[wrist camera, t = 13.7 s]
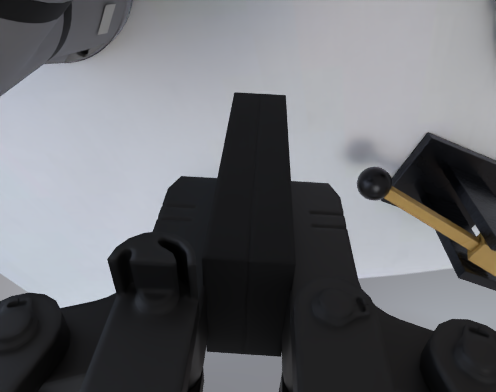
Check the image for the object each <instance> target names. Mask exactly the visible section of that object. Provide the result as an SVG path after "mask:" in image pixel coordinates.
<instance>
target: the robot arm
mask: <svg viewBox="0 0 496 392" xmlns="http://www.w3.org/2000/svg"><path fill="white" fill-rule="evenodd" d="M131 5H132V0H0V96H1V95H3V94H4V93H5V92H7V91H8V90H9V89H11V88H12V87H13V86H15V85H16V84H17V83H19V82H20V81H22V80H23V79H24V78H26V77H27V76H28V75H30V74H31V73H32V72H34V71H35V70H36V69H38V68H39V67H40V66H42V65H43V64H53V63H72V62H77V61H81V60H85V59H87V58H90V57H92V56H93V55H95V54H97V53H98V52H100V51H101V50H103V49H104V48H105V47H106V46H107V45H108V44H109V43H110V42H111V41H112V40H114V39H115V38H116V36H117V35H118V34H119V33H120V31H121V30H122V28H123V26H124V25H125V23H126V20H127V18H128V15H129V13H130V9H131ZM107 260H108V264H109V267H110V271H111V275H112V278H113V282H114V286H115V289H116V293H115V294H113V295H111V296H109V297H107V298H103V299H100V300H97V301H93V302H88V303H83V304H79V305H74V306H69V307H64V308H59V306H58V304H57V302H56V301H55V300H54V299H52V298H50V297H48V296H47V295H45V294H37V293H25V294H21V295H15V296H11V297H9V298H7V299H4V300H2V301H0V392H203V384H204V373H203V364H204V358H205V351H206V346H207V351H208V352H221V353H237V354H251V355H266V356H281V353H282V377H281V383H280V388H279V392H496V331H494V330H493V329H491V328H489V327H488V326H486V325H483V324H480V323H477V322H474V321H471V320H466V319H451V320H448V321H446V322H443V323H441V324H439V325H438V326H437V328H436V330H435V331H432V330H429V329H426V328H423V327H420V326H417V325H414V324H412V323H408V322H405V321H403V320H400V319H398V318H395V317H393V316H391V315H389V314H387V313H385V312H384V311H382V310H381V309H379V308H378V307H376V306H375V305H374V304H373V302H372V300H371V298H370V297H369V296H368V295H367V294H366V293H365V292H364V291H363V290H362V289H361V286H360V283H359V281H358V277H357V272H356V268H355V263H354V259H353V254H352V249H351V245H350V240H349V236H348V231H347V229H346V222H345V218H344V216H343V208H342V204H341V199H340V197H339V195H338V194H337V193H336V192H335V191H334V189H333V188H332V187H331V186H330V185H329V184H328V183H313V182H296V181H291V176H290V159H289V142H288V126H287V109H286V95H271V94H253V93H234V97H233V102H232V107H231V112H230V117H229V123H228V128H227V133H226V138H225V143H224V148H223V153H222V158H221V163H220V168H219V173H218V178H203V177H186V176H181V177H180V178H179V179H178V180H177V181H176V182H175V183H174V184H172V185H171V186H170V187H169V188H168V190H167V193H166V196H165V199H164V202H163V207H161V210H160V213H159V216H158V219H157V221H156V224H155V227H154V229H153V232H149V233H143V234H140V235H137V236H134V237H131V238H129V239H128V240H126V241H125V242H123V243H122V244H120V245H119V246H117V247H116V248H115V250H114V251H113V252H112V254H111V255H110V256H109V258H108V259H107Z"/></svg>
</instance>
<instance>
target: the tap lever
mask: <svg viewBox="0 0 496 392" xmlns="http://www.w3.org/2000/svg"><path fill="white" fill-rule="evenodd" d="M357 188H358V191H359V192H360V194H361V195H362V196H363V197H365V198H366V199H369V200H380V199H382V198H385V199H386V200H388V201H389V202H391V203H393V204H394V205H396V206H398V207H399V208H401V209H403V210H404V211H406V212H408V213H409V214H411V215H412V216H414V217H416V218H417V219H419V220H421V221H422V222H424V223H426V224H427V225H429V226H431V227H432V228H434V229H435V230H437V231H439V232H440V233H442V234H444V235H445V236H447V237H449V238H450V239H452V240H453V241H455V242H457V243H458V244H460V245H462V246H463V247H465V248H467V255H468V260H469V261H471V262H472V263H474V264H476V265H477V266H479V267H481V268H482V269H484V270H486V271H487V272H489V273H490V274H492V275H494V276H496V251H493V250H491V249H490V248H489V246H488V244H487V243H486V241H485V240H484V238H483V236H482V235H481V233H480V234H479V235H478V236H477V237H476V236H474V235H473V234H471V233H469V232H468V231H466V230H464V229H463V228H461V227H459V226H458V225H456V224H454V223H453V222H451V221H449V220H448V219H446V218H444V217H443V216H441V215H440V214H438V213H436V212H435V211H433V210H431V209H430V208H428V207H426V206H425V205H423V204H421V203H420V202H418V201H416V200H415V199H413V198H411V197H410V196H408V195H406V194H405V193H403V192H401V191H400V190H398V189H396V188H395V187H393V186H392V179H391V177H390V175H389V173H388V172H387V171H385V170H384V169H382V168H379V167H371V168H367V169H365V170H364V171H363V172H362V173H361V174H360V175H359V177H358V180H357Z"/></svg>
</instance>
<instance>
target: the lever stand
mask: <svg viewBox="0 0 496 392" xmlns="http://www.w3.org/2000/svg"><path fill="white" fill-rule="evenodd" d="M392 186H393V187H395V188H396V189H398V190H400V191H401V192H403V193H405V194H406V195H408V196H410V197H411V198H413V199H415V200H416V201H418V202H420V203H421V204H423V205H425V206H426V207H428V208H430V209H431V210H433V211H435V212H436V213H438V214H440V215H441V216H443V217H444V218H446V219H448V220H449V221H451V222H453V223H454V224H456V225H458V226H459V227H461V228H463V229H464V230H466V231H468V232H469V233H471V234H473V235H474V236H475V234H474V232H473V231H472V229H471V228H472V227H473V226H474V225H476V226H477V228H478V230H479V231H480V233H481V235H482V236H483V238H484V240H485V241H486V243H487V244H488V246H489V248H490V249H491V250H493V251H496V161H495V160H493V159H490V158H488V157H486V156H483V155H481V154H478V153H476V152H474V151H471V150H469V149H466V148H464V147H462V146H459V145H457V144H455V143H452V142H450V141H447V140H445V139H443V138H440V137H438V136H435V135H433V134H431V133H427V134H426V136H425V137H424V138H423V139H422V141H421V142H420V143H419V145H418V146H417V147H416V148H415V150H414V151H413V152H412V154H411V155H410V156H409V157H408V159H407V160H406V161H405V163H404V164H403V165H402V166H401V168H400V169H399V170H398V172H397V173H396V174H395V175H394V177H393V178H392ZM381 201H383V202H386V203H388V204H391V205H394V204H393V203H391V202H389V201H388V200H386V199H385V198H382V199H381ZM394 206H396V205H394ZM397 207H398V206H397ZM436 233H437V235H438V237H439V239H440V241H441V243H442V245H443V247H444V249H445V251H446V253H447V255H448V257H449V259H450V262H451V264H452V266H453V268H454V270H455V272H456V274H457V276H458V278H460V279H463V280H466V281H469V282H472V283H475V284H478V285H481V286H484V287H487V288H489V289H493V290H495V291H496V276H494V275H492V274H490V273H489V272H487V271H486V270H484V269H482V268H481V267H479V266H477V265H476V264H474V263H472V262H471V261H469V260H468V255H467V248H465V247H463V246H462V245H460V244H458V243H457V242H455V241H453V240H452V239H450V238H449V237H447V236H445V235H444V234H442V233H440V232H439V231H437V230H436Z"/></svg>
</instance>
